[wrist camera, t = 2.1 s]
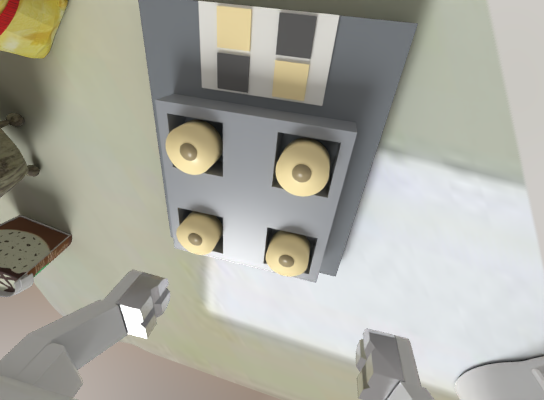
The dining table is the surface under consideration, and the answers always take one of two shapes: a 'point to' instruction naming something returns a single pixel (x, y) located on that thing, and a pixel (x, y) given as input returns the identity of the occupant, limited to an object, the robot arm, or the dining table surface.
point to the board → (343, 99)
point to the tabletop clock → (12, 157)
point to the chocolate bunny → (29, 26)
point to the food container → (27, 252)
